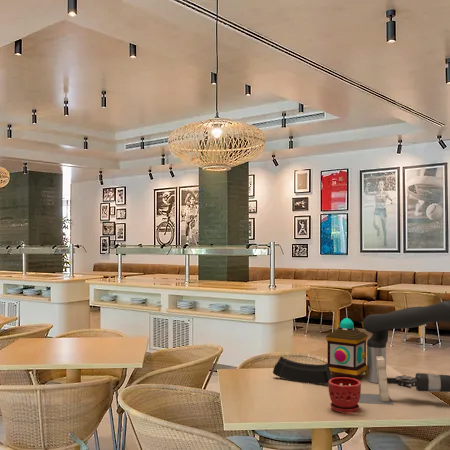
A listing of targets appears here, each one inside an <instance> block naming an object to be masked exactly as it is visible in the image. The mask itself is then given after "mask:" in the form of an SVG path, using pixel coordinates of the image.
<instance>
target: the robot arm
mask: <svg viewBox="0 0 450 450" xmlns="http://www.w3.org/2000/svg"><path fill="white" fill-rule="evenodd" d="M429 323H430V324H431V323H450V299H449V300H443V301H441V302H438V303H434V304H430V305H427V306H411V307H410V306H409V307H405V308H401V309H396V310H394V311H391V312H387V313H372V314H369V315H367V316H366V317H365V318H364V320H363V323H362V325H363V328H364V330H365V331H366V332H367V333H370V334H371V336H370V338H367V340H366V365H367V376H366V381H367V382H369V383H374V384H378V374H377V364H376V357H382V356H383V358H384V359H385V365H386V366H387V344H388V340H389V330H398V329H399V330H400V329H411V328H413V329H414V328H417V327H421V326H424V325H426V324H429ZM389 384H390V385H396V386H398V387H403V388H408V389H412V388H413V387H415V389H416V391H418V392H428V393H429V392H431V393H437V392H439V393H440V392H443V393H444V392H445V393H450V375H449V374H448V375H447V374H435V373H426V372H424V373H423V372H422V373H421V372H417V373H415V376H414V377H412V376H411V375H406V374H404V375H398V376H396V377H387V385H389Z"/></svg>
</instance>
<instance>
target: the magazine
mask: <svg viewBox="0 0 450 450" xmlns="http://www.w3.org/2000/svg"><path fill="white" fill-rule="evenodd" d="M272 374H273V375H274V376H276V377H278V378H279V379H280V380H281V379H284V380H287V381H291V382H296V383H303V384H308V383H309V384H311V385H328V382H329V380H330V379H332V378H333V377H332V373H330V369H329V367H328V364H327V363H324V364H311V363H305V362H304V363H303V362H297V361H293V360H290V359H287V358H284V356H280V357H279V358H277V362H276V364H274V367H273V369H272Z"/></svg>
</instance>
